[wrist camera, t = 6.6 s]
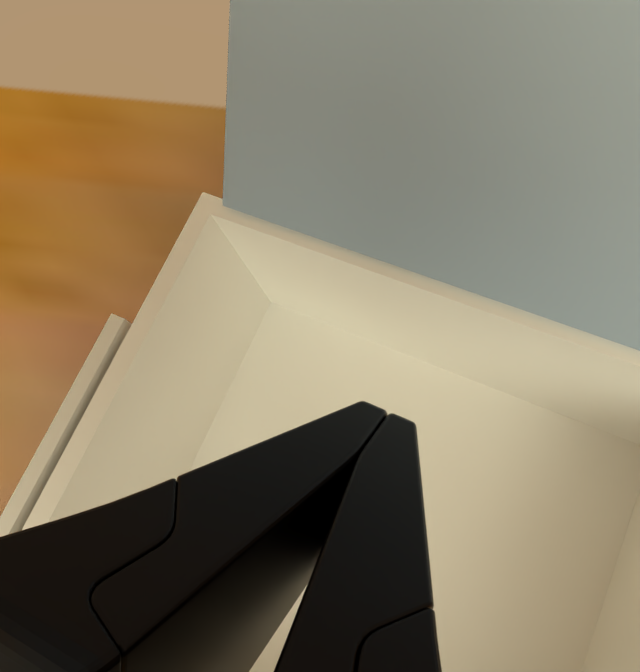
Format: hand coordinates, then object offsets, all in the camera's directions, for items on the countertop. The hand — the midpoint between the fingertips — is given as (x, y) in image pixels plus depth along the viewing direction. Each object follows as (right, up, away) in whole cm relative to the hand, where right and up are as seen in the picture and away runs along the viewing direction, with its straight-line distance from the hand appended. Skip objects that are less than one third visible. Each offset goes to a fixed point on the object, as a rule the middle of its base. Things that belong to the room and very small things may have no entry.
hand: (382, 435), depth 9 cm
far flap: (+3, +5, +3) cm, 6 cm away
